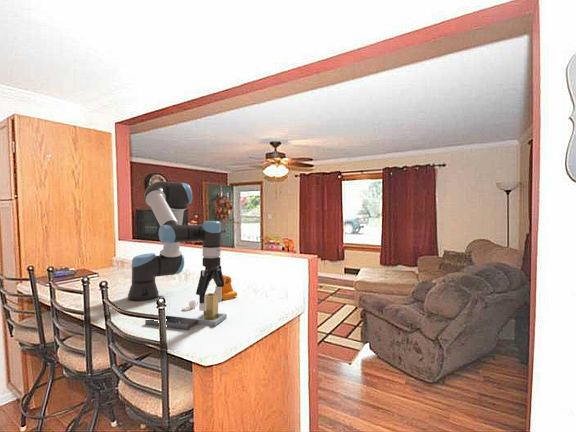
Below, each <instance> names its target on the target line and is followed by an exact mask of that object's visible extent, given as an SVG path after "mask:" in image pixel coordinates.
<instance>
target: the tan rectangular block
mask: <svg viewBox="0 0 576 432" xmlns="http://www.w3.org/2000/svg"><path fill="white" fill-rule="evenodd" d="M205 295H206V311H203V314H204V316H203V319H204V320H213V321H215V320H216V319H218V313H219V302H218V294H215V293H214V292H212V293H211V292H208V293H205Z"/></svg>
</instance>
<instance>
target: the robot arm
mask: <svg viewBox="0 0 576 432" xmlns="http://www.w3.org/2000/svg"><path fill="white" fill-rule="evenodd" d="M143 195H144V196H143V197H144V200H145V203H146V205H148V207H150V208H151V211H152V212H153V215H154V216H155V218H156V221H157V222H158V225H159V229H158V239H159V241H160V243H163V248H162V249H161V250H160V251H159V255H156V253H154V252H152V253H151V252H150V253H143V254H139V255H135V256H134V257H133V258H132V259H131V260H132V261H131V285H130V287H129V291H128V293H127V299H128V300H129V301H132V302H134V301H135V302H141V301H150V300H153V299H156V298H158V297H159V290H158V287H157V284H156V277H164V276H175V275H179V274H180V273H181V272H183V270H184V266H185V257H184V255H183V254H182V252H181V250H180V246H181V243H193V242H195V243H197V242H202V266H203V267H204V268H205V269H204V270H203V269H202V270H200V273H199V274H200V276H199V279H198V284H197V287H196V288H197V289H196V291H195V295H197V296H198V297H199V298H198V301H199V305H198V307H199V310H198V311H201V312H204V311H206V294H207V291H208V287H209V285H210V283H211V281H212V279H213V281H214V283H215V286H214V287H215V290H214V292H215V294H218V303H221V302H222V300H223V299H222V287H224V279H223V275H224V274H223V272H222V265H221V252H222V249H221V238H222V227H221V222H220V221H217V220H216V221H215V220H205V221H203V223H202V224H201V223H200V224H183V220H184V211H186V210H187V209H188V205H190V204H192V202H193V191H192V187H191V186H190V185H189V184H188V183H186V182H185V183H184V182H178V181H175V182H174V181H162V180H159V181H155V182H153V183H151V184H150V185H148V186H147V187H146V189H145V192H144V194H143ZM216 286H218V287H216Z"/></svg>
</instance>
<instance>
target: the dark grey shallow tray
mask: <svg viewBox="0 0 576 432" xmlns="http://www.w3.org/2000/svg"><path fill="white" fill-rule="evenodd" d="M166 319H167V321H166V325H167V328H166V329H174V330H175V329H176V330H184V331H189V330H191V329H192V328H194V327H196V326H197V325H199V324H198V319H195V318H193V317H192V318H191V317H181V316H176V315H175V316H174V315H166ZM144 321H145V322H144V325H146V326H152V327H158V326H159V323H158V321H154V320H146V319H145V320H144Z"/></svg>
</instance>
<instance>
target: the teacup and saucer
mask: <svg viewBox="0 0 576 432" xmlns="http://www.w3.org/2000/svg"><path fill="white" fill-rule="evenodd" d="M188 305H189V306H185V307H182V311H183V312H189V311H191V310H195V308H197V307H198V308H199V305H198V301H196V300H189V301H188ZM198 308H197V310H198V311H200V310H199V309H198Z"/></svg>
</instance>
